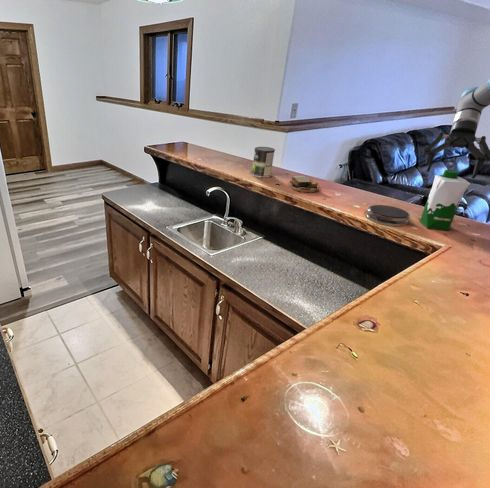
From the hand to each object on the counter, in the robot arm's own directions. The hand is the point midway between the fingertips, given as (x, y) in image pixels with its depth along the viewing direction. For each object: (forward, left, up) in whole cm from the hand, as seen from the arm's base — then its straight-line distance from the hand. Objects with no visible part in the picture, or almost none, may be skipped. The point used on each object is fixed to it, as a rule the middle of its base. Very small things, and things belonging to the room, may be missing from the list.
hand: (450, 173), depth 127 cm
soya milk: (0, +9, -18) cm, 20 cm away
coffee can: (+77, -19, -18) cm, 81 cm away
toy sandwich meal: (+52, -8, -18) cm, 56 cm away
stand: (+15, +12, -18) cm, 26 cm away
